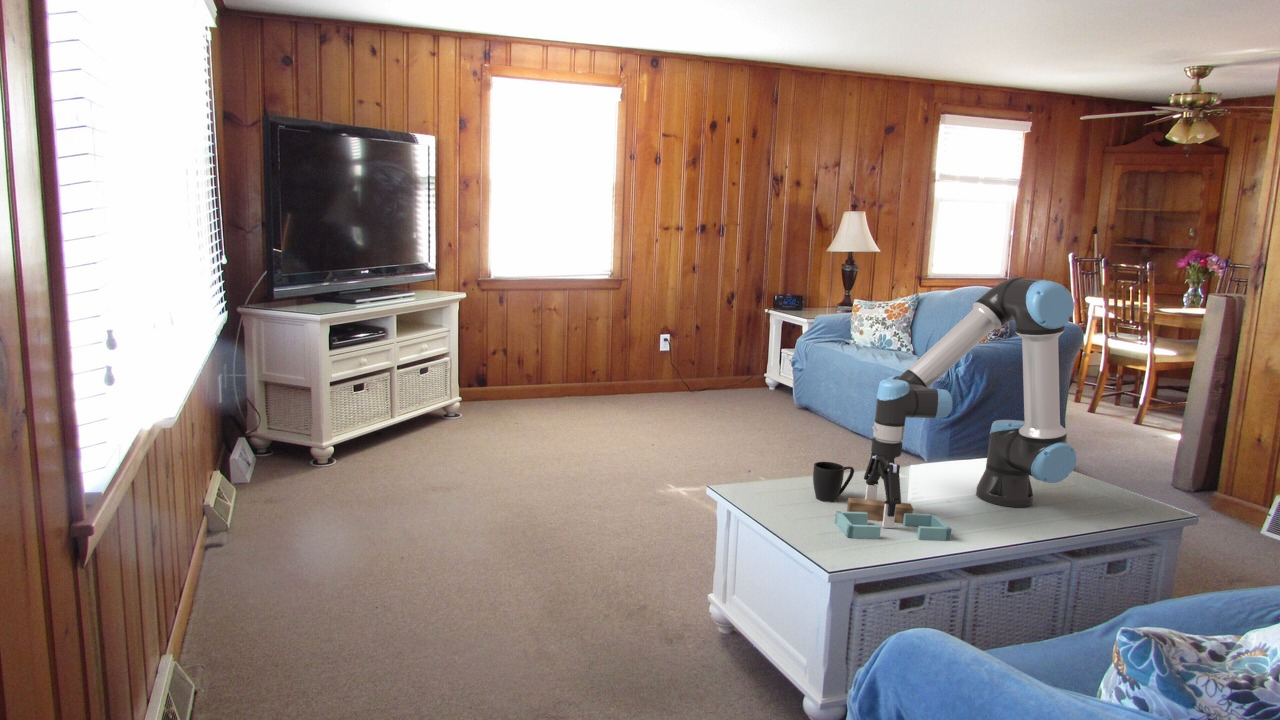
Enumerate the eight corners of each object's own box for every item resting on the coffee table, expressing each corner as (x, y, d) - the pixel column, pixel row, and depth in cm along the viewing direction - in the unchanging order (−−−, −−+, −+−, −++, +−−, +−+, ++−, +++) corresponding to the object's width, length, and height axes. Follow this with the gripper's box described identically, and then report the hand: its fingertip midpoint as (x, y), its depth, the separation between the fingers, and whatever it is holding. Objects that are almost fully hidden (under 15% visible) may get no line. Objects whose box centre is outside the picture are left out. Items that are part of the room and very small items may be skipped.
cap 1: (847, 537, 210) (849, 526, 209) (834, 522, 220) (836, 511, 219) (879, 538, 210) (880, 527, 210) (865, 523, 221) (866, 512, 220)
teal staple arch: (932, 525, 222) (934, 513, 222) (950, 540, 212) (951, 528, 211) (902, 524, 221) (904, 513, 221) (918, 539, 211) (920, 528, 211)
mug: (858, 502, 237) (862, 469, 235) (820, 504, 233) (823, 470, 231) (843, 492, 244) (846, 460, 243) (805, 494, 241) (808, 461, 239)
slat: (908, 519, 226) (910, 503, 225) (911, 525, 222) (913, 508, 221) (846, 513, 228) (848, 497, 227) (848, 519, 224) (850, 502, 223)
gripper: (857, 426, 233) (849, 501, 237) (891, 452, 208) (881, 535, 212) (884, 427, 234) (875, 502, 237) (921, 453, 209) (910, 536, 213)
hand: (878, 517), depth 225 cm, fingers open, 13 cm apart
